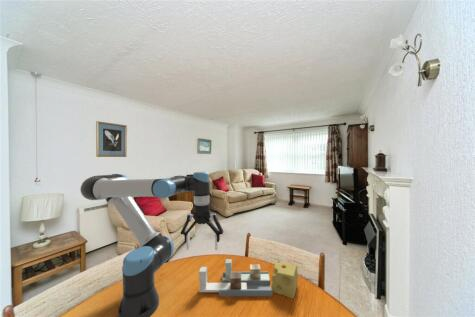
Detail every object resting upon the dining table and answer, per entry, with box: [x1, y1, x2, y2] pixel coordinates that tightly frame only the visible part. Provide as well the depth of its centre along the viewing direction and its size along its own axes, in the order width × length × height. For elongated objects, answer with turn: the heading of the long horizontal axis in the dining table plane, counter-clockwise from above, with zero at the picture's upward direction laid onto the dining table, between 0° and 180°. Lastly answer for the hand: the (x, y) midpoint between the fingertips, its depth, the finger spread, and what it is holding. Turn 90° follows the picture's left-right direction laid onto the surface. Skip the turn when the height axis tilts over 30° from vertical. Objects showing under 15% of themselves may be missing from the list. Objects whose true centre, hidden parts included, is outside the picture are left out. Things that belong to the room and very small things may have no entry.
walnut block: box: [230, 273, 241, 289], centre depth 84 cm, size 5×4×5 cm
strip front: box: [198, 266, 247, 293], centre depth 85 cm, size 22×5×9 cm, turn 88°
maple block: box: [249, 263, 261, 280], centre depth 91 cm, size 5×4×5 cm
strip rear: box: [224, 258, 271, 281], centre depth 91 cm, size 22×5×9 cm, turn 88°
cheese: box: [271, 260, 299, 299], centre depth 85 cm, size 10×11×10 cm
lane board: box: [218, 270, 273, 297], centre depth 88 cm, size 24×14×3 cm, turn 88°
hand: (202, 248), depth 85 cm, fingers open, 13 cm apart
